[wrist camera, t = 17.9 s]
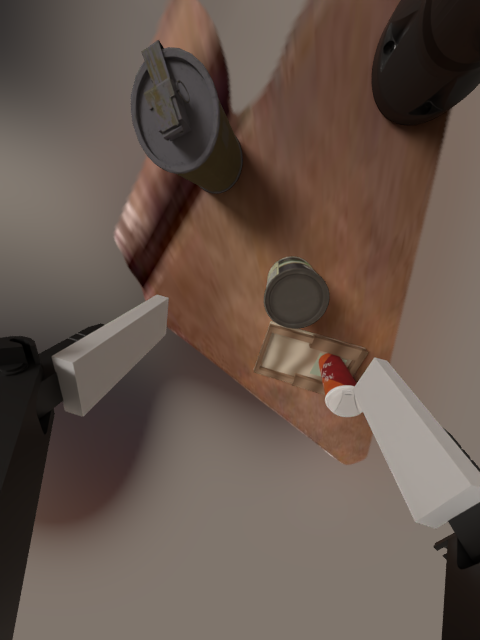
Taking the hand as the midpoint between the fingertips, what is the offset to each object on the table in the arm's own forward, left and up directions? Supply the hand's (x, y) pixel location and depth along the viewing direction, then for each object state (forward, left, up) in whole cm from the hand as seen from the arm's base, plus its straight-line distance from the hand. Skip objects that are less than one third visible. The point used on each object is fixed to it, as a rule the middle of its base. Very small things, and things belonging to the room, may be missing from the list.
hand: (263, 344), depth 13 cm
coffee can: (0, +6, -35) cm, 35 cm away
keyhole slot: (+11, +25, -35) cm, 44 cm away
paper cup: (+7, +29, -34) cm, 45 cm away
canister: (-5, -21, -35) cm, 41 cm away
